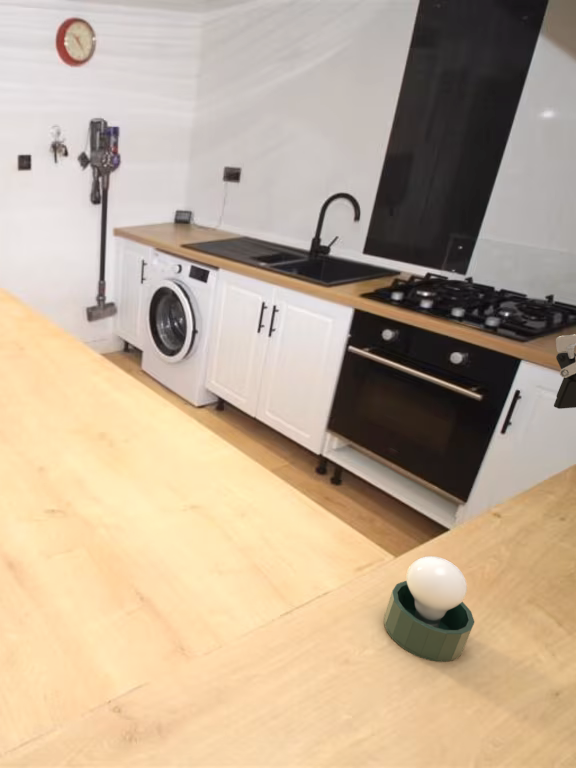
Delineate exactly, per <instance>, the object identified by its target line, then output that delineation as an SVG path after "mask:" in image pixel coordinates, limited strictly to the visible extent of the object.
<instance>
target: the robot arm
mask: <svg viewBox="0 0 576 768" xmlns="http://www.w3.org/2000/svg"><path fill="white" fill-rule="evenodd" d="M555 345H556V346H555V348H556V353H557V354H556V361H557V363H558V365H559V367H560V371H559V376H560V377H561V378H562V381H561V384H560V386H559V389H558V391H557V393H556V399H555V401H554V403H553V407H554V408H556V409H558V410H562V409H573V408H574V409H575V408H576V353H575V350H576V349H575V348H576V333H575V334H574V333H573V334H570V335H569V334H568V335H561V336H557V337H556V338H555Z"/></svg>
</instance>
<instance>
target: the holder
mask: <svg viewBox="0 0 576 768" xmlns="http://www.w3.org/2000/svg"><path fill="white" fill-rule="evenodd" d="M463 601H464V600H463ZM463 601H462V602H461V603H460V604H459V605H458V606H456V607H454V608H452V609H450V610H448V611H447V612H446V614H445V615H444V616H443V617H442V618H441V619H440V623H439V627H438V628H436V627H433V626H430V625H428V624H426V623H424V622H422V621H420V620H418V619H416V618H415V614H416V608H415V600H414V597H413V595H412V594H411V592H410V590H409V588H408V585H407V581H406V580H404V581H401V582H398V583H396V585H394V587H393V589H392V592H391V594H390V596H389V599H388V603H387V606H386V609H385V612H384V617H383V625H384V628H385V630H386V632H387V634H388V635H389V636H390V638H391V639H392V640H393V641H394V642H395V643H396V644H397V645H398V646H400V647H401V648H402V649H404V650H405V651H406V652H408V653H410V654H411V655H414V656H415V657H418V658H421V659H423V660H427V661H431V662H439V663H446V662H452V661H455V660H457V659H458V658H460V657H461V656H462V654H463V651H464V649H465V646H466V644H467V641H468V639H469V637H470V634H471V633H472V630H473V627H474V625H475V619H474V616H473V613H472V611H471V609H470V608H469V607H468V605H466V604H465V602H463Z"/></svg>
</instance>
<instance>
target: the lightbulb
mask: <svg viewBox="0 0 576 768" xmlns="http://www.w3.org/2000/svg"><path fill="white" fill-rule="evenodd" d="M407 568H408V569H407V570H406V574H405V575H406V577H405V579H406V580H405V581H407V585H408V588H409V590H410V592H411V594H412V595H413V597H414V600H415V608H416V614H415V618H416V619H418V620H420V621H422V622H424V623H426V624H428V625H430V626H433V627H436V628H438V627H439V623H440V619H441V618H442V617H443V616H444V615H445V614H446V612H447V611H448V610H450V609H452V608H454V607H456V606H458V605H459V604H460V603H461V602H462V601H464V600H465V598H466V596H467V593H468V581H467V579H466V578H465V575H464V573H463V572H462V570H461V569H460V568H459V567H458V566H457V565H455V564H454V563H453V562H451V561H450V560H448V559H446V558H443V557H440V556H436V555H435V556H434V555H428V556H426V555H425V556H421V557H419V558H416V559H415V560H414V561H413V562H412V563H411V564H409V567H407Z"/></svg>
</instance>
